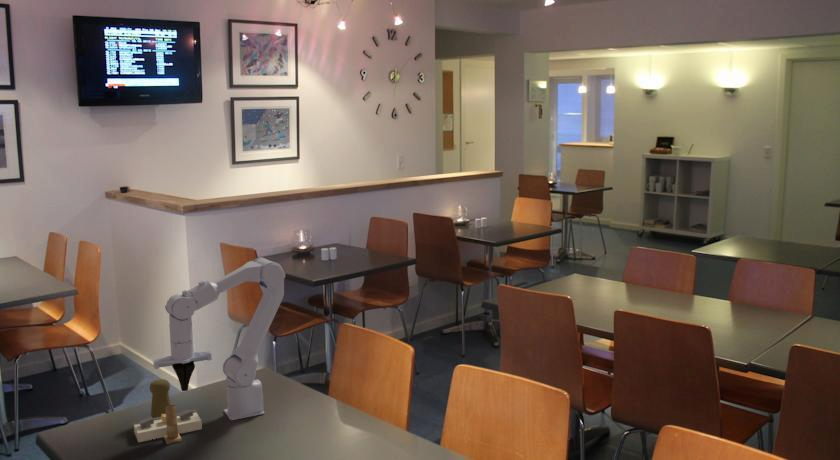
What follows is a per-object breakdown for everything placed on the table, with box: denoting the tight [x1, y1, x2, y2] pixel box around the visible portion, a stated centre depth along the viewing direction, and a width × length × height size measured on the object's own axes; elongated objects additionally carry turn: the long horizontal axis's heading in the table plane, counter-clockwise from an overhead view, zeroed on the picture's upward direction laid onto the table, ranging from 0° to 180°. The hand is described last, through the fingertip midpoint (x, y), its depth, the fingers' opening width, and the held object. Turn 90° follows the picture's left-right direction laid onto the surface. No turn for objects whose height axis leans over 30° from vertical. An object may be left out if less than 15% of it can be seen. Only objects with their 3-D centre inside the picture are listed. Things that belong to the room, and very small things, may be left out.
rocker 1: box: [138, 415, 154, 428], centre depth 191 cm, size 3×2×1 cm
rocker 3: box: [178, 408, 193, 420], centre depth 196 cm, size 3×2×1 cm
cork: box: [149, 378, 172, 418], centre depth 201 cm, size 6×6×11 cm
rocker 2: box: [161, 414, 166, 422], centre depth 194 cm, size 3×2×1 cm
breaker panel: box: [133, 409, 203, 443], centre depth 194 cm, size 16×7×3 cm, turn 119°
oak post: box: [163, 404, 182, 445], centre depth 188 cm, size 4×4×9 cm
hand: (184, 389), depth 195 cm, fingers closed
